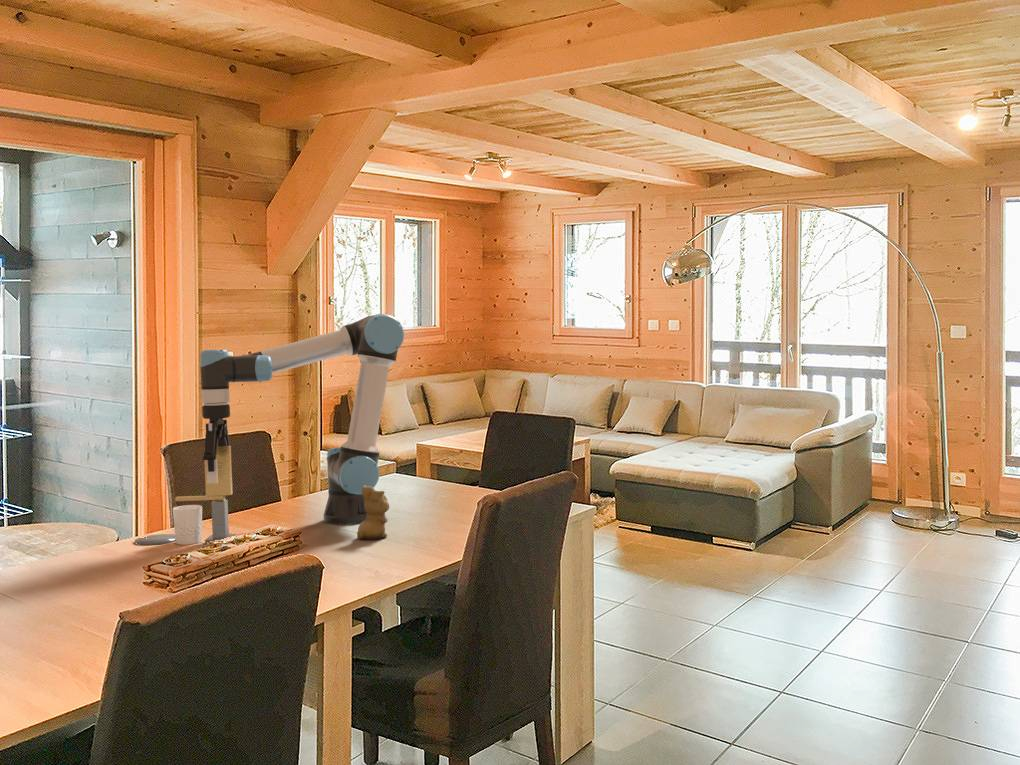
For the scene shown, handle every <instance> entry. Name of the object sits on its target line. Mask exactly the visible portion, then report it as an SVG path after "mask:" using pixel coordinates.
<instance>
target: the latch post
mask: <svg viewBox="0 0 1020 765" xmlns="http://www.w3.org/2000/svg"><path fill="white" fill-rule="evenodd" d="M228 501H229V500H228V499H225V500H224V501H214V500H212V501H211V504H210V505H211V522H212V524H211V525H212V534H211V535H210V536H208V537H207V538H206V539H204V544H205V543H207V542H210V541H215V540H221V539H224V538H227V537H231V536H235V535H236V536H237V534H236V533H230V531H229V530H230V529H229V502H228Z"/></svg>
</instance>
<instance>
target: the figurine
mask: <svg viewBox="0 0 1020 765" xmlns="http://www.w3.org/2000/svg"><path fill="white" fill-rule="evenodd" d="M362 494H363V496H364V498H365V503H364V508H365V511H366V512H367V515H366V519H365V520H364V521H363V522H362V523H359V525H358V530H357V532H356V535H357V536H356V538H358V540H360V541H361V540H364V541H378V540H383V539H386V538H387V536H388V534H387V532H386V523H387V522H388V521H389V519H388V517H387V515H386V513H387V512H388V511H389V509H390V502H388V498H387V496H386V495H385V491H384V490H375V487H374V488H373V487H370V486H368V487H367V486H366V485H364V486H363V488H362Z"/></svg>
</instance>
